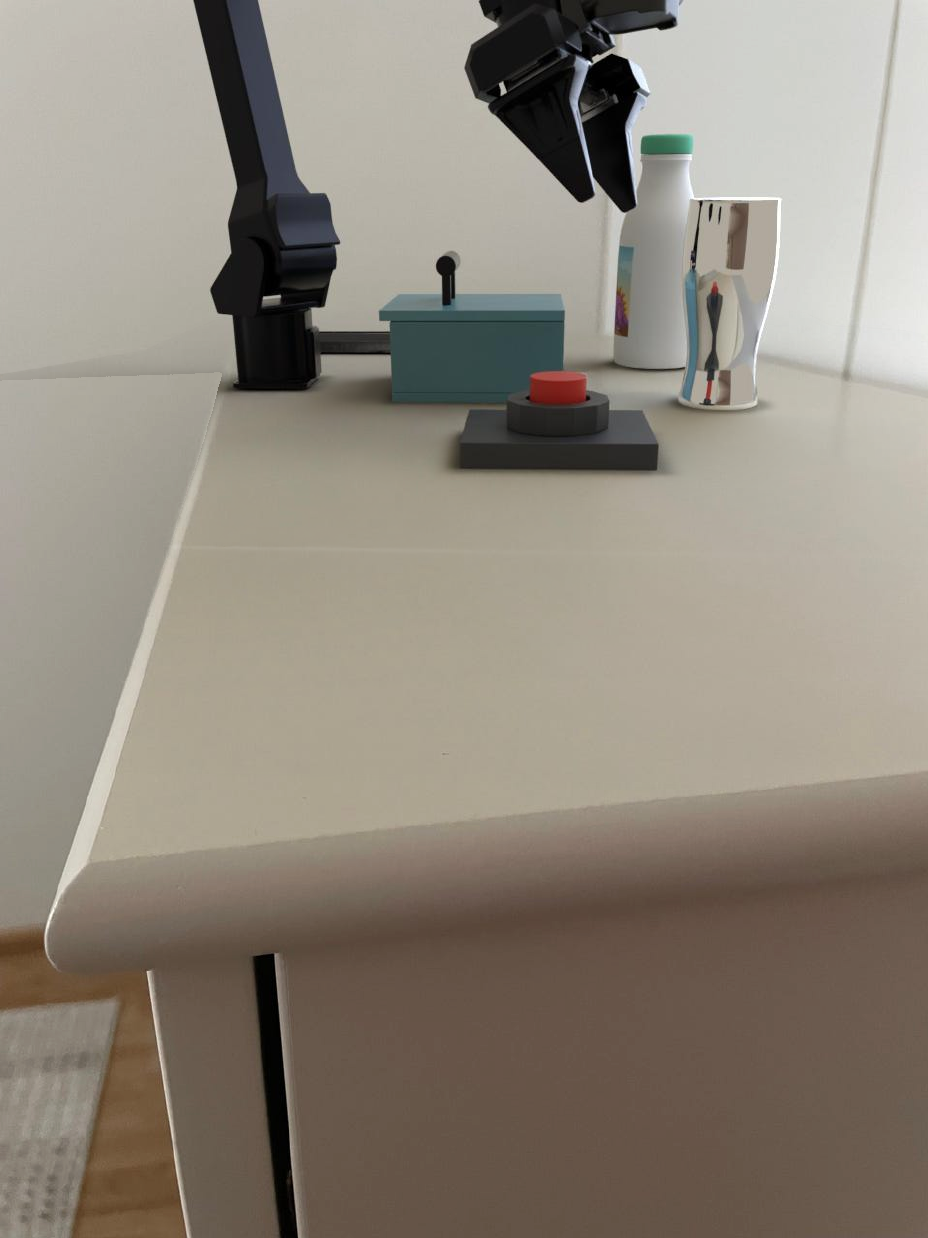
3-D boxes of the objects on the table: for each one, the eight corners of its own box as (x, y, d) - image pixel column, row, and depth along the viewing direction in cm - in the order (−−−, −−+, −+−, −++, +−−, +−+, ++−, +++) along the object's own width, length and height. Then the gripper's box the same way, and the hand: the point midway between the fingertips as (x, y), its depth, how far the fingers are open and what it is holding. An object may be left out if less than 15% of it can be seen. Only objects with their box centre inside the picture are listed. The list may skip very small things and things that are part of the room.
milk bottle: (706, 361, 100) (724, 134, 93) (676, 373, 94) (693, 131, 87) (632, 355, 104) (644, 136, 97) (599, 366, 98) (609, 134, 91)
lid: (379, 320, 81) (376, 258, 79) (398, 303, 92) (396, 248, 90) (564, 320, 80) (566, 257, 78) (560, 303, 91) (562, 247, 90)
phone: (296, 331, 114) (432, 330, 113) (297, 341, 114) (432, 341, 114) (280, 341, 107) (425, 341, 106) (281, 352, 107) (426, 352, 106)
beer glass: (765, 413, 78) (788, 198, 72) (671, 410, 79) (686, 199, 73) (760, 396, 84) (780, 197, 78) (673, 393, 86) (686, 197, 80)
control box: (460, 469, 64) (459, 412, 62) (469, 433, 73) (468, 383, 71) (657, 471, 63) (660, 414, 62) (641, 434, 72) (644, 383, 71)
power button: (529, 408, 65) (530, 380, 64) (529, 397, 68) (530, 370, 68) (587, 409, 65) (588, 380, 64) (584, 397, 68) (585, 370, 67)
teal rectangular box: (392, 402, 83) (389, 321, 81) (409, 375, 95) (407, 303, 92) (562, 403, 82) (564, 321, 80) (558, 375, 94) (560, 303, 91)
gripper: (590, -168, 54) (691, 123, 56) (678, -62, 70) (754, 161, 72) (419, -44, 60) (516, 217, 62) (536, 27, 76) (610, 233, 78)
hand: (610, 205), depth 68 cm, fingers open, 9 cm apart
